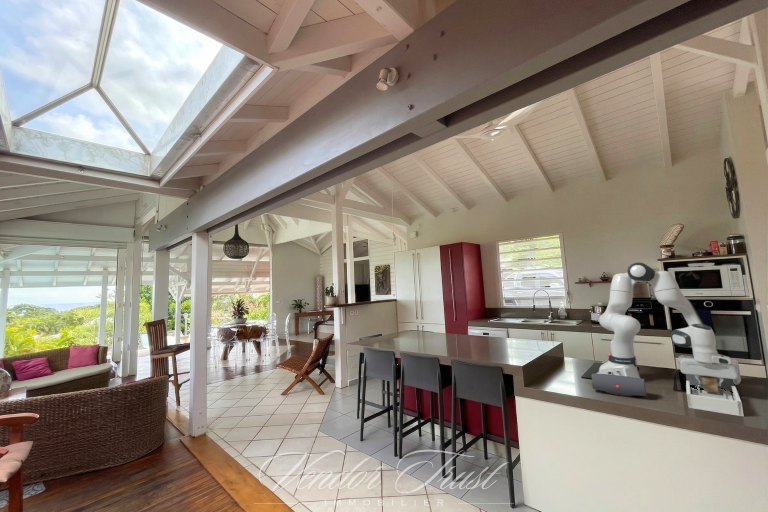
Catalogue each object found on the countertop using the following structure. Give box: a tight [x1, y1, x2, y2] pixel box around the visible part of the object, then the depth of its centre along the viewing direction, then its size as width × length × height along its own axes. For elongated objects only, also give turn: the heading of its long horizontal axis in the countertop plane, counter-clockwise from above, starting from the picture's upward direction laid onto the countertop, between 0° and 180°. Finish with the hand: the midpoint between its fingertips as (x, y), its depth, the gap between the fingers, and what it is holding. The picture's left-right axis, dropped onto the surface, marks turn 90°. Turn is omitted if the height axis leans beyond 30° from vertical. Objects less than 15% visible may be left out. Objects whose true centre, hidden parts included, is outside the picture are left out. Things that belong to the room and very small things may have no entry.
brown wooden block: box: [702, 376, 718, 393], centre depth 157 cm, size 5×7×6 cm
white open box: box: [685, 380, 745, 417], centre depth 149 cm, size 17×22×6 cm
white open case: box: [685, 374, 735, 400], centre depth 156 cm, size 17×23×15 cm
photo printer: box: [731, 358, 742, 386], centre depth 170 cm, size 10×4×12 cm, turn 123°
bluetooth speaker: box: [591, 373, 647, 397], centre depth 168 cm, size 23×9×10 cm, turn 50°
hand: (709, 384), depth 157 cm, fingers closed on brown wooden block, 5 cm apart
